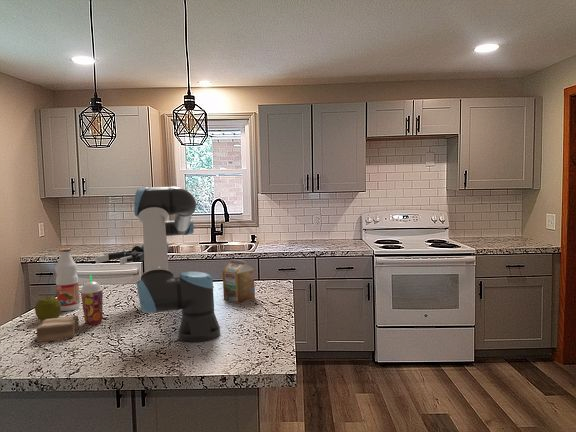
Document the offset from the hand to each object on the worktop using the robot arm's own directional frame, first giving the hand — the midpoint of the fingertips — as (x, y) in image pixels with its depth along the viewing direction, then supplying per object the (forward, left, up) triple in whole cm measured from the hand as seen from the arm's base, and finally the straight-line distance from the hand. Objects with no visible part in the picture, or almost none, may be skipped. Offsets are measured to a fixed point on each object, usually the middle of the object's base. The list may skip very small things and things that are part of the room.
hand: (108, 260), depth 192 cm
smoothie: (-8, +6, -24) cm, 26 cm away
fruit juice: (+20, +20, -24) cm, 38 cm away
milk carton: (+4, -57, -24) cm, 62 cm away
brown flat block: (-19, +17, -24) cm, 35 cm away
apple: (+3, +25, -24) cm, 35 cm away
